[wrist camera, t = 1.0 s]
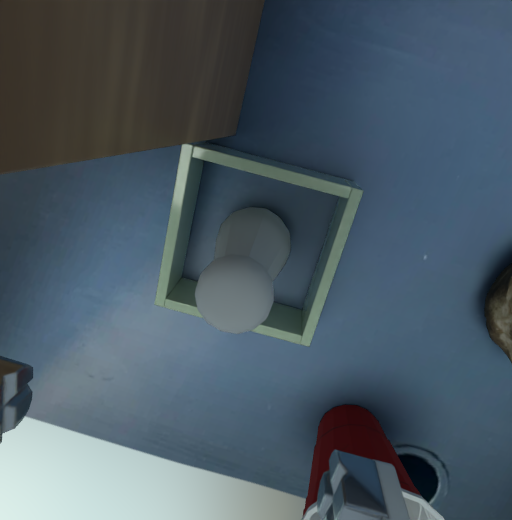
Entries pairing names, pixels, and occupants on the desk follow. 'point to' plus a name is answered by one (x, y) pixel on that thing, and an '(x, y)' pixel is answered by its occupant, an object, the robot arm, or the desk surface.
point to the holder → (192, 160)
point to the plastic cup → (362, 444)
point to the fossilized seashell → (500, 311)
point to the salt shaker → (243, 270)
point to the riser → (119, 76)
